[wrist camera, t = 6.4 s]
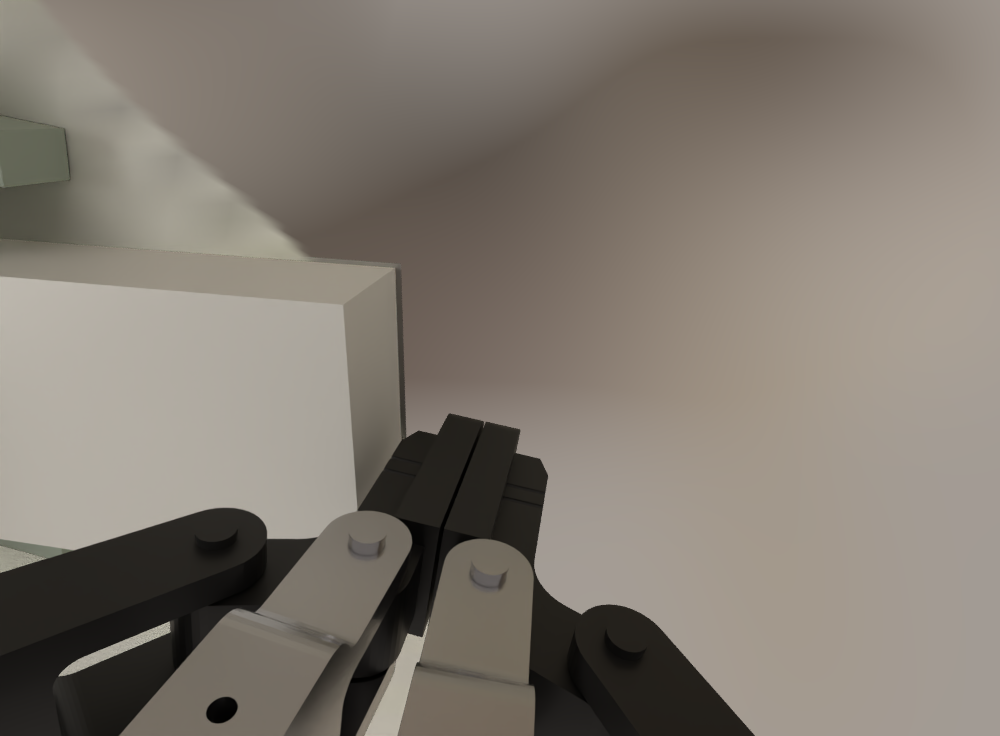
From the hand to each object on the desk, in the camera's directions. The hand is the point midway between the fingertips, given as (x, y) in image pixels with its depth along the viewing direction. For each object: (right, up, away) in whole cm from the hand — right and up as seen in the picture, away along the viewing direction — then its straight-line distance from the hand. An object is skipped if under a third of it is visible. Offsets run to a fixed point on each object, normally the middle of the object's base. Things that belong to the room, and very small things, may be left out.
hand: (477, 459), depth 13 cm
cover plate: (-7, +2, +2) cm, 7 cm away
